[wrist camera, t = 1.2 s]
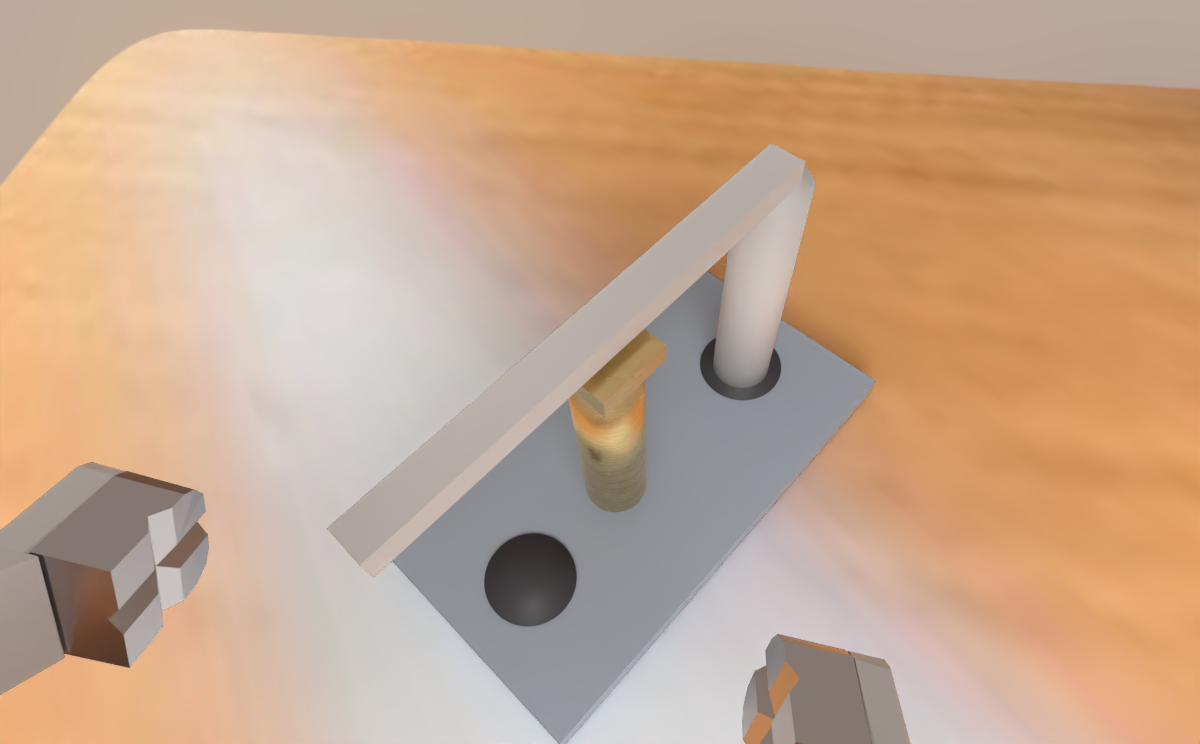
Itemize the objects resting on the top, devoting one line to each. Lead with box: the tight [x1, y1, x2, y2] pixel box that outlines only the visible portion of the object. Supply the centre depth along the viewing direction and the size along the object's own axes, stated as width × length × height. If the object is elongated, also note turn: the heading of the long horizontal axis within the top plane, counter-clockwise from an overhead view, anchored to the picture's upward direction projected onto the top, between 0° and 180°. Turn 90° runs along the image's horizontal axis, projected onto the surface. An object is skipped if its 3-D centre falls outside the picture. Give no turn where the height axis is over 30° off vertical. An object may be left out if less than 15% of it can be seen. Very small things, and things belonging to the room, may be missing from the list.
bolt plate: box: [327, 143, 876, 744], centre depth 32 cm, size 24×12×16 cm, turn 136°
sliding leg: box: [568, 329, 666, 512], centre depth 31 cm, size 3×3×12 cm
